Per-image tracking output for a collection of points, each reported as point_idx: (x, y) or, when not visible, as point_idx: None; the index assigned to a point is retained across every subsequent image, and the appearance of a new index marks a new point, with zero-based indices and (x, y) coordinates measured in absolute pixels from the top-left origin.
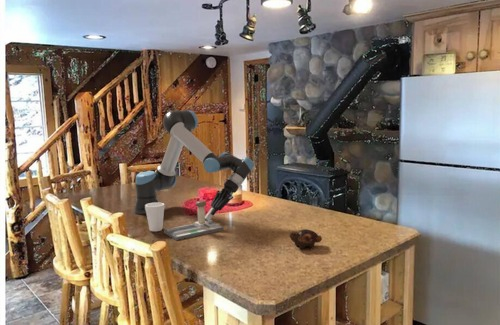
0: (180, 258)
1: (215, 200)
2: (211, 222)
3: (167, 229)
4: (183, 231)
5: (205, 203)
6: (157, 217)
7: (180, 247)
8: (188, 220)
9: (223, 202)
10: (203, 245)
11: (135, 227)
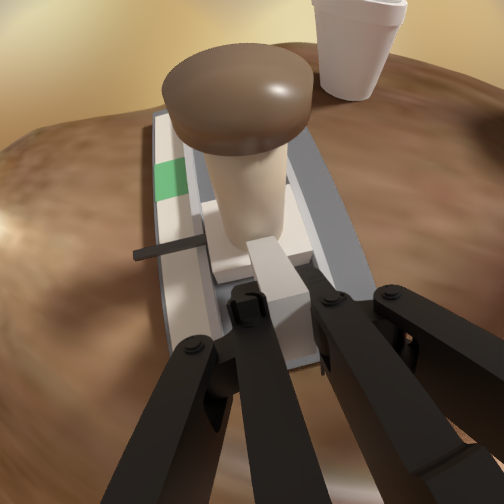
0: (23, 141)
1: (447, 367)
2: None
3: None
4: None
5: (181, 123)
6: (317, 32)
7: (81, 136)
8: (472, 226)
9: (136, 456)
10: (41, 208)
11: None
